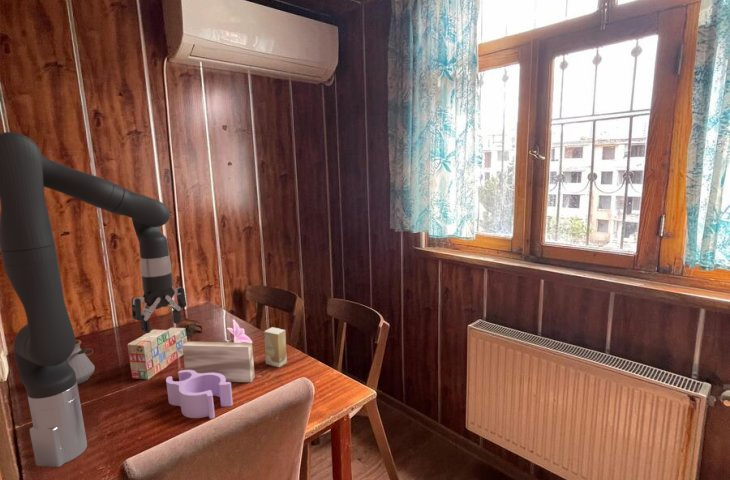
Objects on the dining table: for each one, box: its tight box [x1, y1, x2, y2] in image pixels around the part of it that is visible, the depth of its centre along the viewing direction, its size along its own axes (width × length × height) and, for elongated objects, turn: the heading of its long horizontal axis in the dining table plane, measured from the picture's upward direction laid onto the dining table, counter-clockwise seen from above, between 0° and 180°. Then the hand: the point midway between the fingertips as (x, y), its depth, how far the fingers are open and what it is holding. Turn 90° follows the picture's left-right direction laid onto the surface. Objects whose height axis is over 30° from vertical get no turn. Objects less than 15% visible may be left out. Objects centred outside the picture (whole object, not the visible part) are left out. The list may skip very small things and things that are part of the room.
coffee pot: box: [67, 339, 95, 386], centre depth 128 cm, size 21×12×15 cm, turn 55°
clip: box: [165, 369, 234, 420], centre depth 116 cm, size 20×12×7 cm, turn 62°
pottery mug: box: [177, 317, 203, 338], centre depth 166 cm, size 12×10×8 cm
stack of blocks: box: [127, 327, 188, 380], centre depth 141 cm, size 21×6×12 cm, turn 168°
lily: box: [226, 319, 254, 344], centre depth 153 cm, size 12×12×10 cm
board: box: [182, 340, 256, 383], centre depth 129 cm, size 3×22×12 cm, turn 84°
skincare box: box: [263, 326, 288, 368], centre depth 139 cm, size 6×4×12 cm
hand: (162, 327), depth 114 cm, fingers open, 8 cm apart
